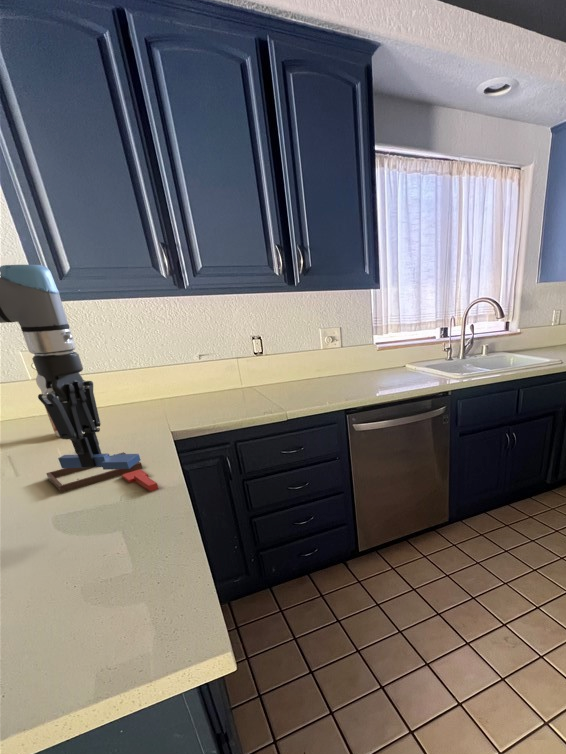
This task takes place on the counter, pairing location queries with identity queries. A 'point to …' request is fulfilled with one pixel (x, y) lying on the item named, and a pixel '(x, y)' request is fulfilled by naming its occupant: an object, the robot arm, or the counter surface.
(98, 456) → the blue stepped block
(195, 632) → the counter surface
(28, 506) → the counter surface
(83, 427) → the robot arm
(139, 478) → the red t-shaped block
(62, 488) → the tray
